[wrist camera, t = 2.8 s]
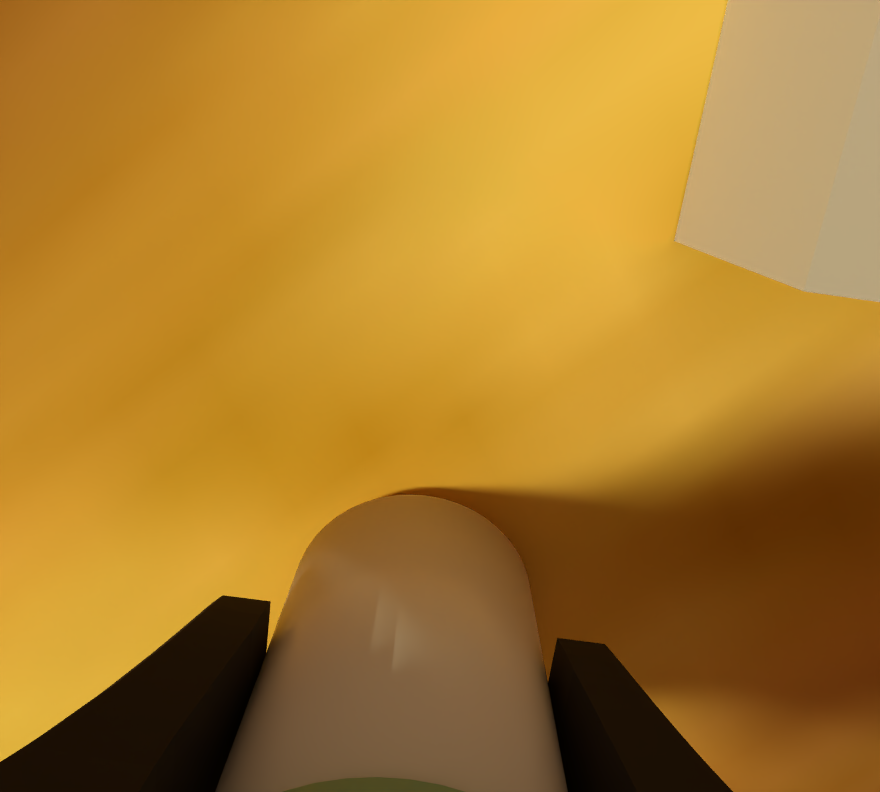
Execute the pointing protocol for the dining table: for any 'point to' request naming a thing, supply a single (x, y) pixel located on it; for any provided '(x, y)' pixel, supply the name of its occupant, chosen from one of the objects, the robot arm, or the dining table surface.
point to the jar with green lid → (402, 664)
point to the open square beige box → (792, 146)
